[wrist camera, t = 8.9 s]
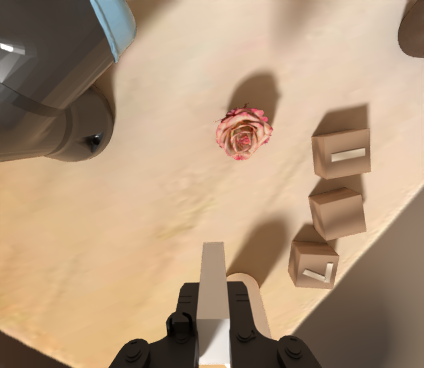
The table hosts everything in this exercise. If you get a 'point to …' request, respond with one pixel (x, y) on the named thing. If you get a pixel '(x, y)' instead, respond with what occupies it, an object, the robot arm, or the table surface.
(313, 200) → the plain block
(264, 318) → the potion bottle
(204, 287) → the robot arm
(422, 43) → the plant pot
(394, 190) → the table surface
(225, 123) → the flower
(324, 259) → the marked block seven
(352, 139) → the marked block one
